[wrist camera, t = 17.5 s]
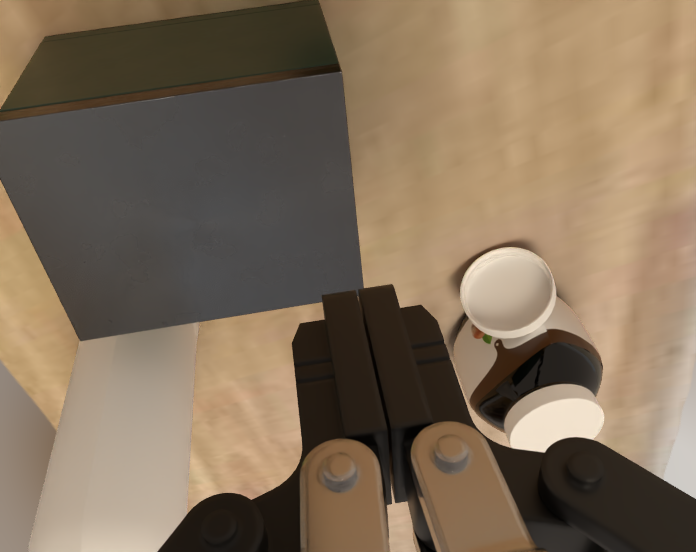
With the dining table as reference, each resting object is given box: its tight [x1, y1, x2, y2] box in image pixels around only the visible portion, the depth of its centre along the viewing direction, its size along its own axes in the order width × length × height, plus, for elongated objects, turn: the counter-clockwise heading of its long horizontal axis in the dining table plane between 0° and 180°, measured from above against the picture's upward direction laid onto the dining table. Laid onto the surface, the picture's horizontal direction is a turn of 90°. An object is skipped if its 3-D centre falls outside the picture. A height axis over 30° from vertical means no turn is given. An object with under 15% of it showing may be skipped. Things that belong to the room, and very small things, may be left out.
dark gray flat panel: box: [0, 63, 364, 341], centre depth 34 cm, size 16×13×1 cm
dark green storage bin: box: [0, 0, 339, 112], centre depth 38 cm, size 15×13×9 cm
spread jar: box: [453, 247, 604, 453], centre depth 50 cm, size 12×11×12 cm
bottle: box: [28, 322, 199, 552], centre depth 38 cm, size 8×8×30 cm
